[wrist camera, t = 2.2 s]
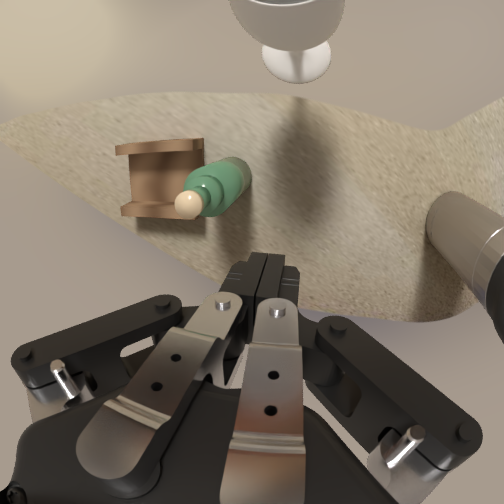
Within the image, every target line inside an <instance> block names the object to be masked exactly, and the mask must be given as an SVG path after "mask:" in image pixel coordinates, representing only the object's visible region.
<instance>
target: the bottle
mask: <svg viewBox="0 0 504 504" xmlns="http://www.w3.org/2000/svg"><path fill="white" fill-rule="evenodd" d="M251 178H252V174H251V170H250V168H249V166H248V165H247V163H246V162H244V161H243V160H241V159H239V158H236V157H228V158H225V159H222V160H219V161H216V162H214V163H211V164H208V165H206V166H203V167H200V168H198V169H196V170H194V171H193V172H191V173H190V174H189V176H188V177H187V179H186V181H185V183H184V190H183V192H182V193H180V194H179V195H178V196H177V197H176V199H175V209H176V211H177V213H178V214H179V215H180V216H181V217H182V218H185V219H193V218H195V217H196V216H198V215H201V216H204V217H215V216H218V215H220V214H222V213H223V212H224V211H225V210H226V209H227V208H228V207H229V206H230V205H231V204H232V203H233V202H234V201H235V200H236V199H237V198H238V197H239V196H240V195H241V194H242V193H243V192H244V191H245V190H246V189H247V188H248V187H249V185H250V183H251Z"/></svg>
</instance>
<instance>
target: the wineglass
mask: <svg viewBox="0 0 504 504" xmlns="http://www.w3.org/2000/svg"><path fill="white" fill-rule="evenodd" d="M229 2H230V5H231V8H232V10H233V12H234V15H235V16H236V18H237V20H238V21H239V23H240V24H241V25H242V27H243V28H244V29H245V30H246V31H247V32H248V33H249V34H250V35H251V36H252V37H253V38H254V39H256V40H257V41H258V42H260V43H262V44H263V48H262V58H263V62H264V64H265V66H266V68H267V69H268V70H269V71H270V72H271V73H272V74H273V75H274V76H275V77H277V78H279V79H280V80H283V81H286V82H289V83H296V84H302V83H308V82H311V81H314V80H316V79H318V78H319V77H321V76H322V75H323V74H324V73H325V72H326V71H327V69H328V67H329V65H330V62H331V50H330V47H329V45H328V43H327V41H326V40H328V39H329V38H330V37H331V36H332V35H333V33H334V32H335V31H336V29H337V27H338V25H339V23H340V21H341V18H342V15H343V11H344V3H345V0H229Z"/></svg>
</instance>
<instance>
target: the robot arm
mask: <svg viewBox="0 0 504 504" xmlns="http://www.w3.org/2000/svg"><path fill="white" fill-rule="evenodd" d="M426 232H427V235H428V238H429V240H430V242H431V244H432V245H433V246H434V247H435V248H436V249H437V250H438V252H439V253H440V254H441V255H442V256H443V257H444V258H445V260H446V261H447V262H448V263H449V264H450V265H451V267H452V268H453V269H454V270H455V271H456V273H457V274H458V275H459V276H460V277H461V279H462V280H463V281H464V282H465V284H466V285H467V286H468V287H469V289H470V290H471V291H472V293H473V294H474V295H475V297H476V298H477V299H478V300H479V302H480V303H481V304H482V305H483V307H484V309H485V310H486V311H487V313H488V314H489V315H490V317H491V318H492V320H493V323H494V326H495V329H496V331H497V333H498V335H499V337H500V338H501V340H502V342H503V344H504V217H502V216H501V215H499V214H497V213H496V212H494V211H492V210H491V209H489V208H487V207H486V206H484V205H482V204H480V203H479V202H477V201H475V200H473V199H472V198H470V197H468V196H466V195H464V194H462V193H459V192H448V193H445V194H443V195H442V196H440V197H439V198H438V199H437V200H436V201H435V202H434V203H433V205H432V206H431V208H430V210H429V213H428V216H427V221H426ZM299 279H300V272H299V271H298V269H297V268H296V267H294V266H285V255H280V254H269V255H268V253H258V252H252V253H251V255H250V257H249V260H248V262H243V261H239V262H237V263H236V264H234V265H233V266H232V267H231V269H230V271H229V273H228V275H227V277H226V278H225V280H224V282H223V284H222V286H221V288H220V290H219V292H217V293H213V294H211V295H209V296H207V297H206V298H205V300H204V301H203V302H202V304H201V305H200V306H192V307H182V303H181V300H180V299H179V298H178V297H176V296H173V295H158V296H155V297H152V298H150V299H147V300H144V301H141V302H139V303H136V304H133V305H131V306H128V307H125V308H122V309H120V310H117V311H114V312H112V313H109V314H106V315H103V316H101V317H98V318H95V319H93V320H90V321H87V322H84V323H81V324H79V325H76V326H73V327H71V328H68V329H65V330H62V331H59V332H57V333H54V334H51V335H48V336H45V337H43V338H40V339H37V340H34V341H31V342H29V343H26V344H24V345H21V346H20V347H18V348H17V349H16V350H15V351H14V353H13V355H12V357H11V365H12V367H13V368H14V370H15V371H16V373H17V374H18V376H19V377H20V379H21V380H22V383H23V384H24V386H25V387H26V389H27V395H28V400H29V407H30V412H31V417H32V422H33V424H31V425H30V426H29V427H28V428H26V430H25V431H24V432H23V434H22V435H21V437H20V439H19V442H18V445H17V453H16V462H15V467H14V472H13V475H12V479H11V481H10V483H9V485H8V486H7V487H6V488H5V489H4V490H2V491H0V504H420V503H421V502H422V501H423V500H424V499H425V498H426V497H427V496H428V495H429V494H430V493H431V492H432V491H433V490H434V489H435V487H436V486H437V485H438V484H439V483H440V482H441V481H442V479H443V478H444V477H445V476H446V475H447V474H448V473H450V472H451V471H453V470H454V469H455V468H456V467H458V466H459V465H460V464H462V463H463V462H464V461H466V460H467V459H468V458H469V457H470V456H472V455H473V454H474V453H475V452H476V451H477V450H478V449H479V448H480V446H481V444H482V439H483V435H482V429H481V427H480V425H479V424H478V422H477V421H476V420H475V419H474V418H472V417H471V416H470V415H469V414H467V413H466V412H465V411H464V410H463V409H461V408H460V407H459V406H458V405H456V404H455V403H454V402H453V401H451V400H450V399H449V398H448V397H447V396H445V395H444V394H443V393H442V392H440V391H439V390H438V389H437V388H435V387H434V386H433V385H432V384H430V383H429V382H428V381H426V380H425V379H424V378H423V377H422V376H420V375H419V374H418V373H417V372H415V371H414V370H413V369H412V368H410V367H409V366H408V365H407V364H405V363H404V362H403V361H402V360H400V359H399V358H398V357H397V356H395V355H394V354H393V353H392V352H390V351H389V350H388V349H386V348H385V347H384V346H383V345H382V344H380V343H379V342H378V341H376V340H375V339H374V338H373V337H371V336H370V335H369V334H368V333H366V332H365V331H364V330H363V329H361V328H360V327H359V326H358V325H356V324H355V323H354V322H352V321H351V320H349V319H347V318H345V317H341V316H328V317H325V318H323V319H321V320H320V321H319V322H318V323H317V322H314V321H311V320H309V319H307V318H305V317H303V316H302V315H301V314H300V313H299V311H298V308H297V304H298V292H299ZM150 336H152V340H153V344H154V345H153V346H150V347H148V348H146V349H143V350H141V351H139V352H136V353H134V354H132V355H129V356H126V357H120V353H121V350H122V349H123V348H124V347H126V346H128V345H131V344H133V343H135V342H138V341H140V340H142V339H145V338H147V337H150ZM245 344H249V349H248V355H247V360H246V366H245V372H244V378H243V383H242V388H241V389H230V386H231V384H232V381H233V379H234V377H235V375H236V372H237V370H238V367H239V365H240V363H241V360H242V357H243V356H242V355H243V354H242V353H243V350H244V347H245ZM303 379H304V380H305V383H306V386H307V387H308V389H309V390H310V391H311V392H312V393H313V394H314V396H315V397H316V398H317V399H318V400H319V401H320V402H321V403H322V404H323V406H325V408H326V409H327V410H328V411H329V412H330V413H331V414H332V415H333V416H334V417H335V418H336V420H337V421H338V422H339V423H340V424H341V425H342V426H343V427H344V428H345V429H346V430H347V431H348V432H349V433H350V435H351V436H352V437H353V438H354V439H355V440H356V441H357V442H358V443H359V444H360V445H361V446H362V447H363V448H364V449H365V450H366V451H367V452H368V453H369V456H368V459H367V467H368V470H369V471H368V470H367V468H366V467H365V466H364V465H363V464H362V463H361V462H360V460H359V459H358V458H357V457H356V456H355V455H354V454H353V452H352V451H351V450H350V449H349V448H348V447H347V446H346V444H345V443H344V442H343V441H342V440H341V439H340V437H339V436H338V435H337V434H336V433H335V431H333V429H332V428H331V427H330V426H329V425H328V423H327V422H326V421H325V420H324V419H323V418H322V417H321V416H320V415H319V414H317V413H316V412H315V411H313V410H312V409H310V408H308V407H306V406H304V405H303Z"/></svg>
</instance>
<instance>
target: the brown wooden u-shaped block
mask: <svg viewBox="0 0 504 504" xmlns="http://www.w3.org/2000/svg"><path fill="white" fill-rule="evenodd" d="M115 151H116V155H126V154H128V155H129V171H130V184H131V195H132V201H131V202H129V203H127V204H125V205H123V206H121V215H122V216H132V217H153V218H171V219H185V218H182V217H181V216H180V215H179V214H178V213H177V211H176V209H175V199H176V197H177V196H178V195H179V194H180V193H182V192H183V190H184V183H185V181H186V179H187V177H188V176H189V174H190V173H191V172H193V171H194V170H196V169H198V168H200V167H203V166H204V138H194V139H174V140H160V141H148V142H138V143H129V144H123V145H117V146H115ZM199 216H200V215H198V216H196V217H195V218H193V219H188V220H196V219H197V218H198V217H199Z"/></svg>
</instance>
